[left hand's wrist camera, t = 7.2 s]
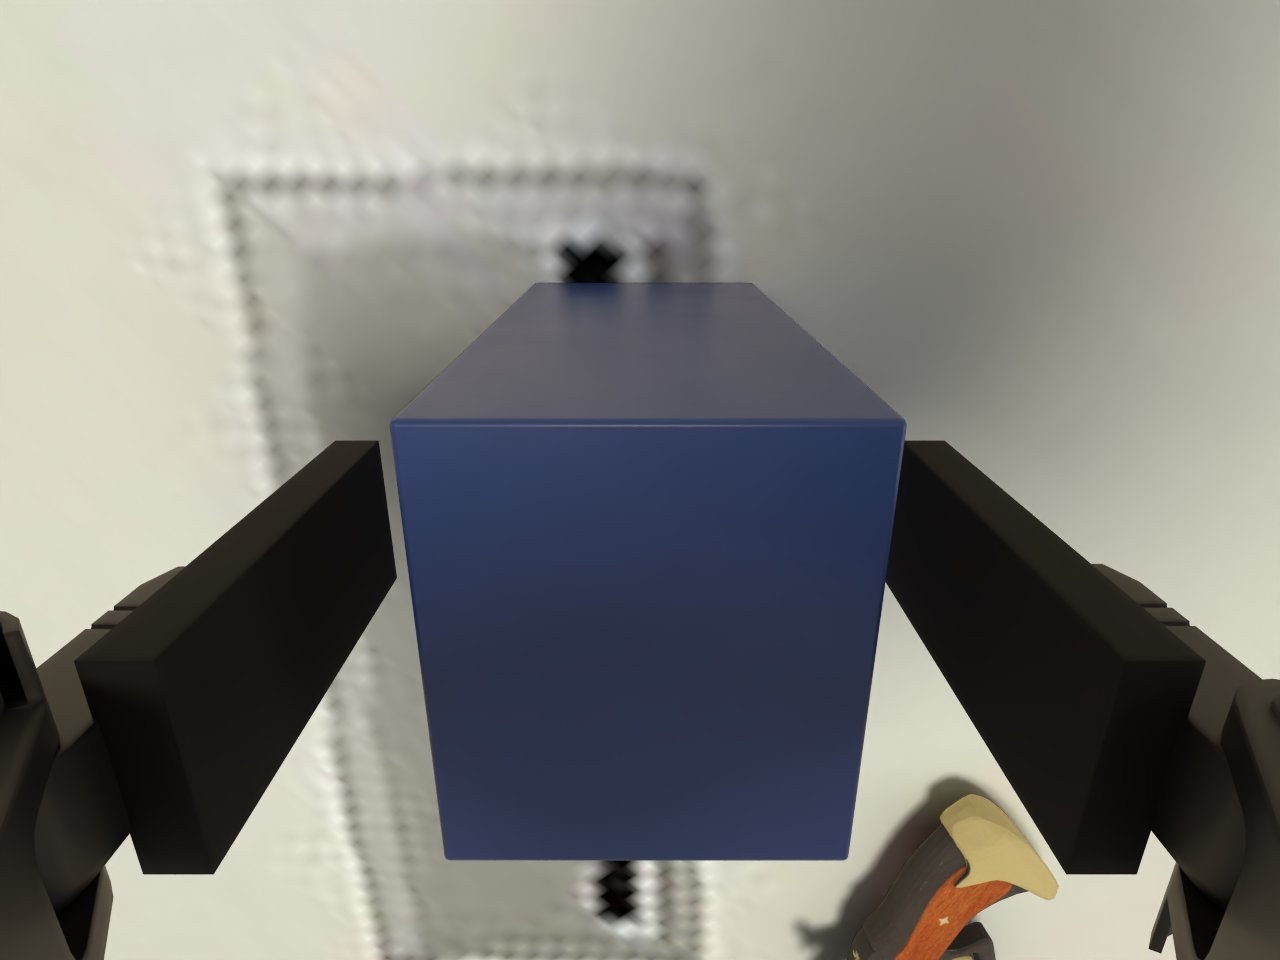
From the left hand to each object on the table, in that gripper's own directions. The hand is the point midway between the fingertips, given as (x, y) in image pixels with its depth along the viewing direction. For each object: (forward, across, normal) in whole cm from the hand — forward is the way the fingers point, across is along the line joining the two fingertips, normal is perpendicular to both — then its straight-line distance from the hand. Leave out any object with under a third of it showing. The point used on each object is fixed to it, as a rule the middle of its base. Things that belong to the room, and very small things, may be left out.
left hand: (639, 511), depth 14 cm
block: (+7, 0, 0) cm, 7 cm away
